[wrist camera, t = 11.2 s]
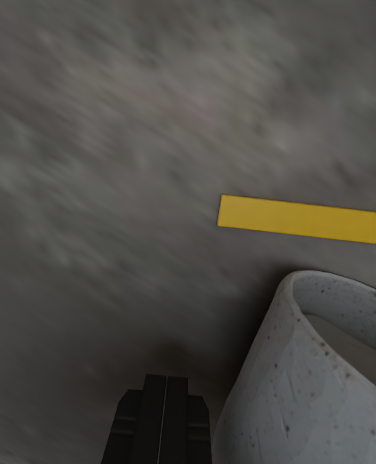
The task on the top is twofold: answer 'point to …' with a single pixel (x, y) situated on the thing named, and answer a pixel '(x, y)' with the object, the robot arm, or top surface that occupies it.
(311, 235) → the tape outline
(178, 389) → the robot arm
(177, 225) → the top surface
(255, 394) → the ceramic mug
